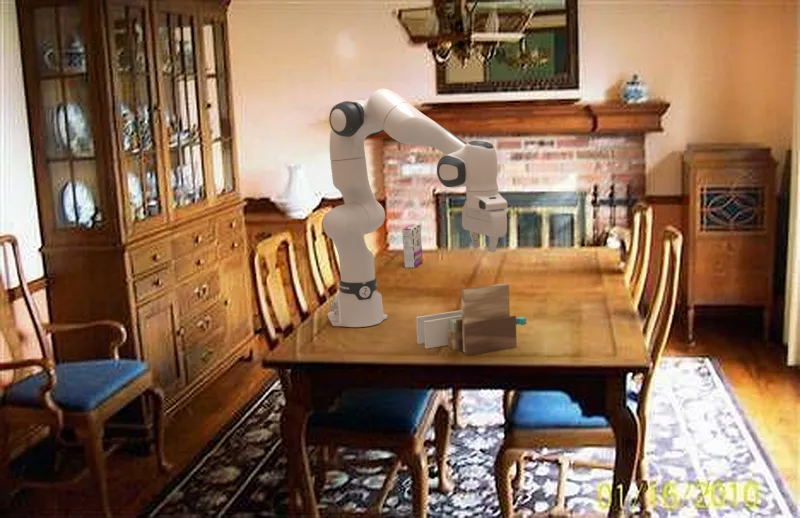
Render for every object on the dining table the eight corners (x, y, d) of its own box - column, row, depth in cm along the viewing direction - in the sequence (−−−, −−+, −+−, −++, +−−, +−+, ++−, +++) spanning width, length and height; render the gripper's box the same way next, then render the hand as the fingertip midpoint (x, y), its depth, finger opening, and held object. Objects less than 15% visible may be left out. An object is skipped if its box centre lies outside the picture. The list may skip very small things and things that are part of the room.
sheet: (463, 351, 261) (461, 289, 257) (506, 343, 266) (504, 283, 263) (466, 353, 259) (464, 291, 255) (510, 345, 264) (509, 284, 261)
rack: (457, 350, 262) (456, 319, 260) (506, 341, 268) (505, 311, 266) (466, 355, 257) (465, 324, 255) (516, 346, 263) (515, 316, 261)
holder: (417, 343, 271) (416, 317, 269) (465, 335, 277) (464, 309, 275) (426, 348, 265) (425, 321, 263) (475, 340, 271) (474, 314, 269)
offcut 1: (450, 329, 266) (449, 319, 265) (466, 327, 267) (466, 317, 266) (454, 332, 262) (453, 322, 261) (470, 330, 263) (470, 320, 263)
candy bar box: (411, 262, 388) (409, 224, 385) (422, 262, 387) (421, 224, 384) (403, 268, 378) (401, 228, 375) (415, 268, 377) (413, 229, 373)
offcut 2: (448, 346, 266) (448, 330, 265) (467, 343, 268) (466, 327, 267) (454, 350, 262) (454, 333, 262) (473, 347, 265) (472, 330, 264)
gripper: (455, 197, 262) (457, 245, 265) (489, 205, 244) (491, 256, 247) (475, 195, 265) (476, 242, 267) (510, 202, 246) (512, 253, 249)
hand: (484, 249), depth 257 cm, fingers open, 8 cm apart
